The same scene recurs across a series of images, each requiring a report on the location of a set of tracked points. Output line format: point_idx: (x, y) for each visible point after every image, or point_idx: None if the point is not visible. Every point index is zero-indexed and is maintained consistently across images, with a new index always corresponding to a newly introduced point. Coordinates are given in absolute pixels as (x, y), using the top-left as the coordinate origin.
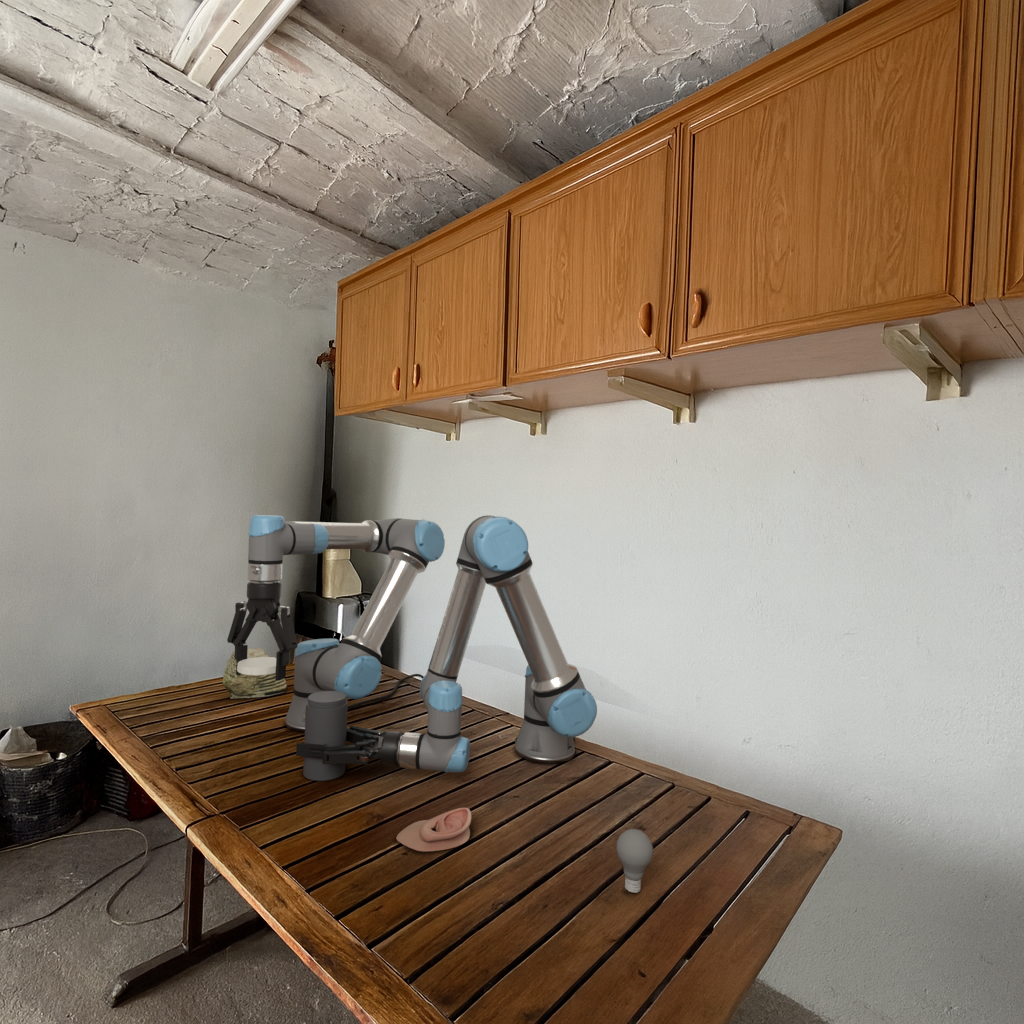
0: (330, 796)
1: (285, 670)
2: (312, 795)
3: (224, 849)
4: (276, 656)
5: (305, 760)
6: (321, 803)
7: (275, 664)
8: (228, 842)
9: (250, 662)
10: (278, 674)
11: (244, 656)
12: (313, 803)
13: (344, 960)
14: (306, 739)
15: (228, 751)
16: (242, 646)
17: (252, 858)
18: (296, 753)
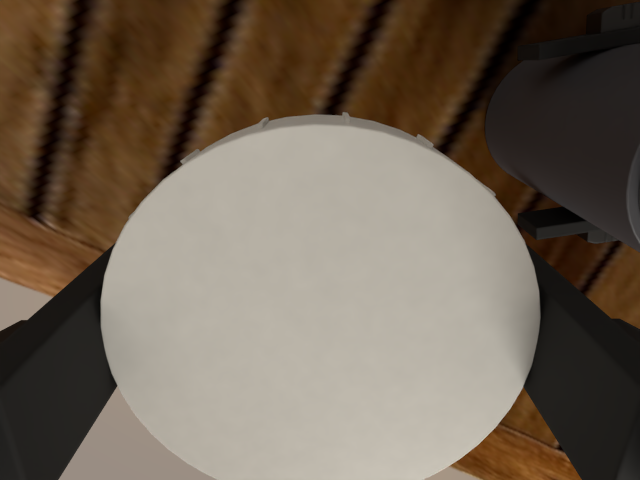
0: (624, 245)
1: (547, 268)
2: (574, 256)
3: (498, 469)
4: (576, 468)
5: (527, 184)
6: (613, 282)
7: (495, 355)
8: (492, 453)
9: (239, 390)
10: None
11: (87, 350)
12: (593, 289)
13: None
14: (565, 207)
15: (159, 96)
16: (8, 466)
17: (561, 474)
18: (522, 227)
